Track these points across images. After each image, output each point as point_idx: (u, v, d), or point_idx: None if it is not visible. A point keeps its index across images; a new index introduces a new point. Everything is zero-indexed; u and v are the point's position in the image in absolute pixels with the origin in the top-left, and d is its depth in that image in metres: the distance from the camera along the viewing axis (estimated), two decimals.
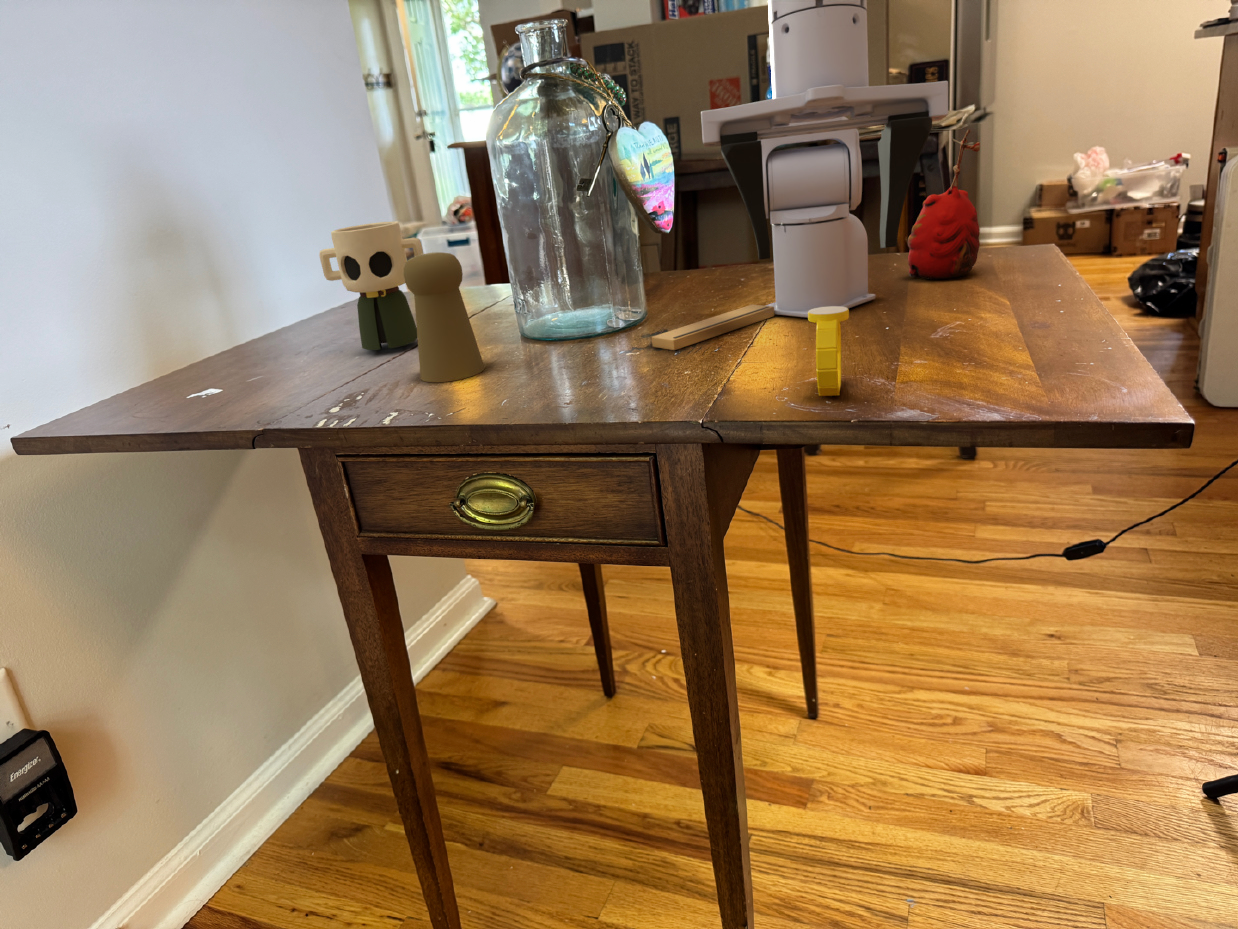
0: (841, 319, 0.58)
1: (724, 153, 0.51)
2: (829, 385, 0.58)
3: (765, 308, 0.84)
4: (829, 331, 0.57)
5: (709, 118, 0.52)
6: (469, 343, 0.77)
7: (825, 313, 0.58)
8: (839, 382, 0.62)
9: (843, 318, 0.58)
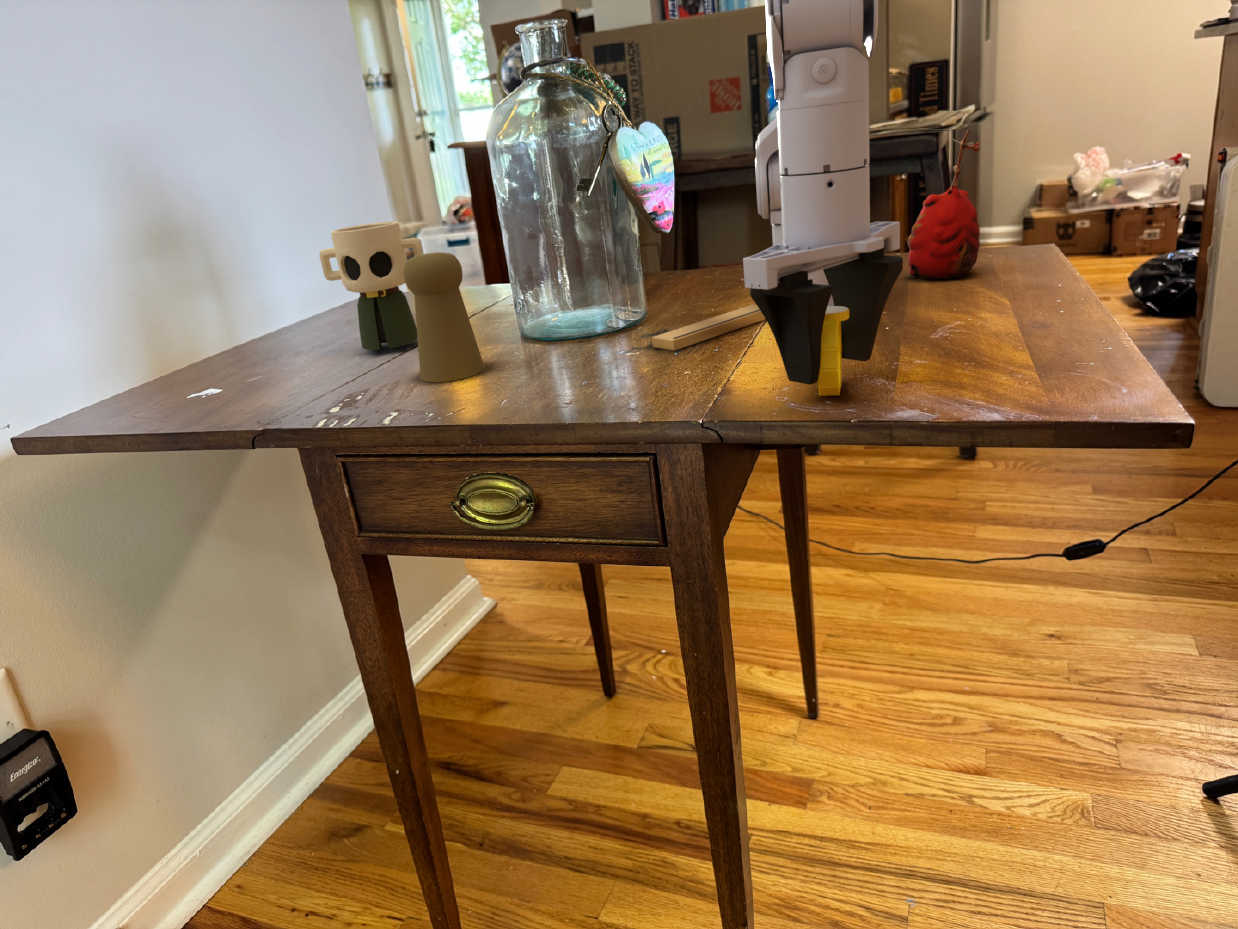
0: (841, 319, 0.58)
1: (807, 298, 0.53)
2: (830, 385, 0.58)
3: None
4: (829, 331, 0.57)
5: (772, 265, 0.53)
6: (469, 343, 0.77)
7: (825, 313, 0.58)
8: (839, 382, 0.62)
9: (843, 318, 0.58)
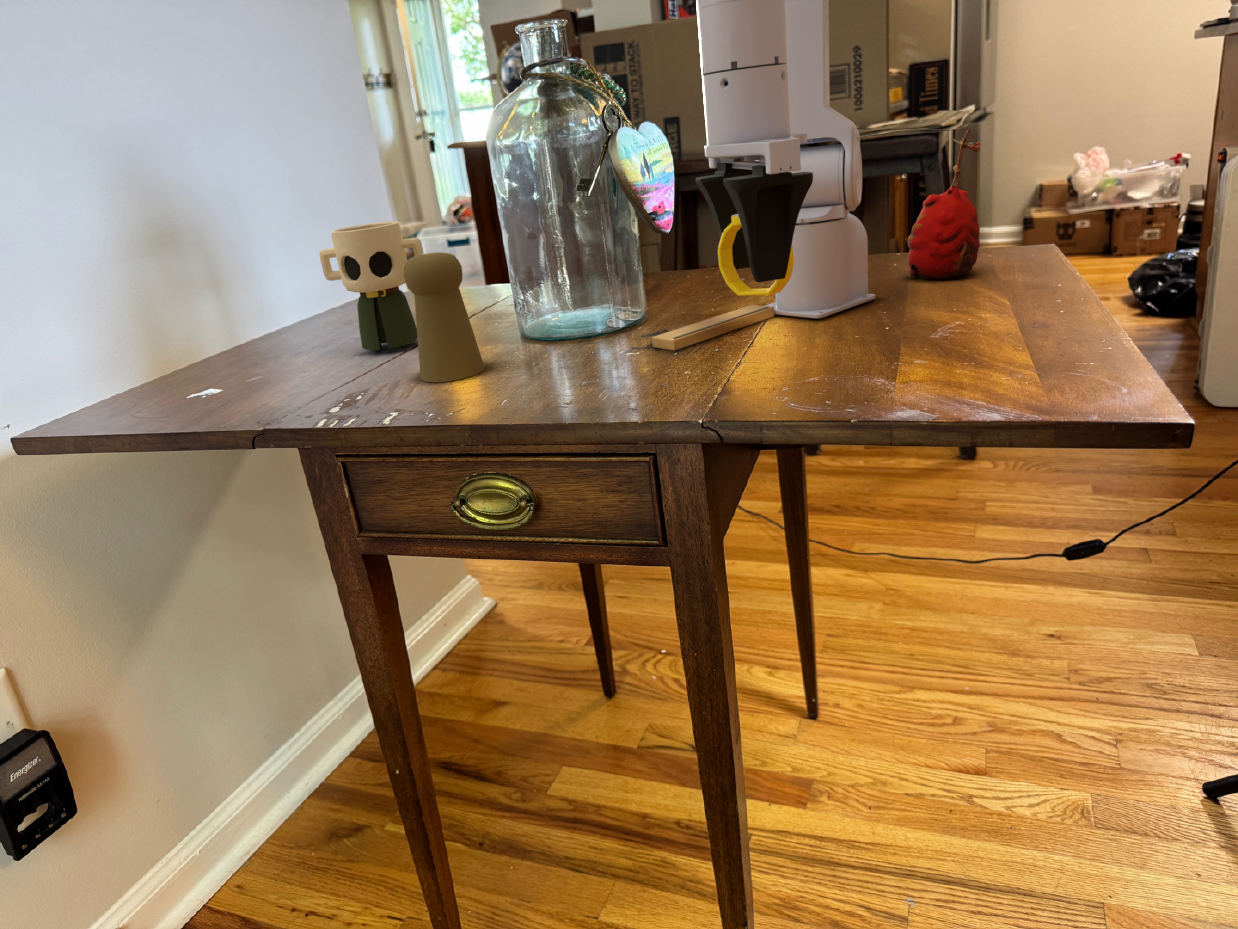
0: None
1: (810, 180, 0.55)
2: (786, 279, 0.60)
3: (765, 308, 0.84)
4: None
5: None
6: (469, 343, 0.77)
7: None
8: None
9: None
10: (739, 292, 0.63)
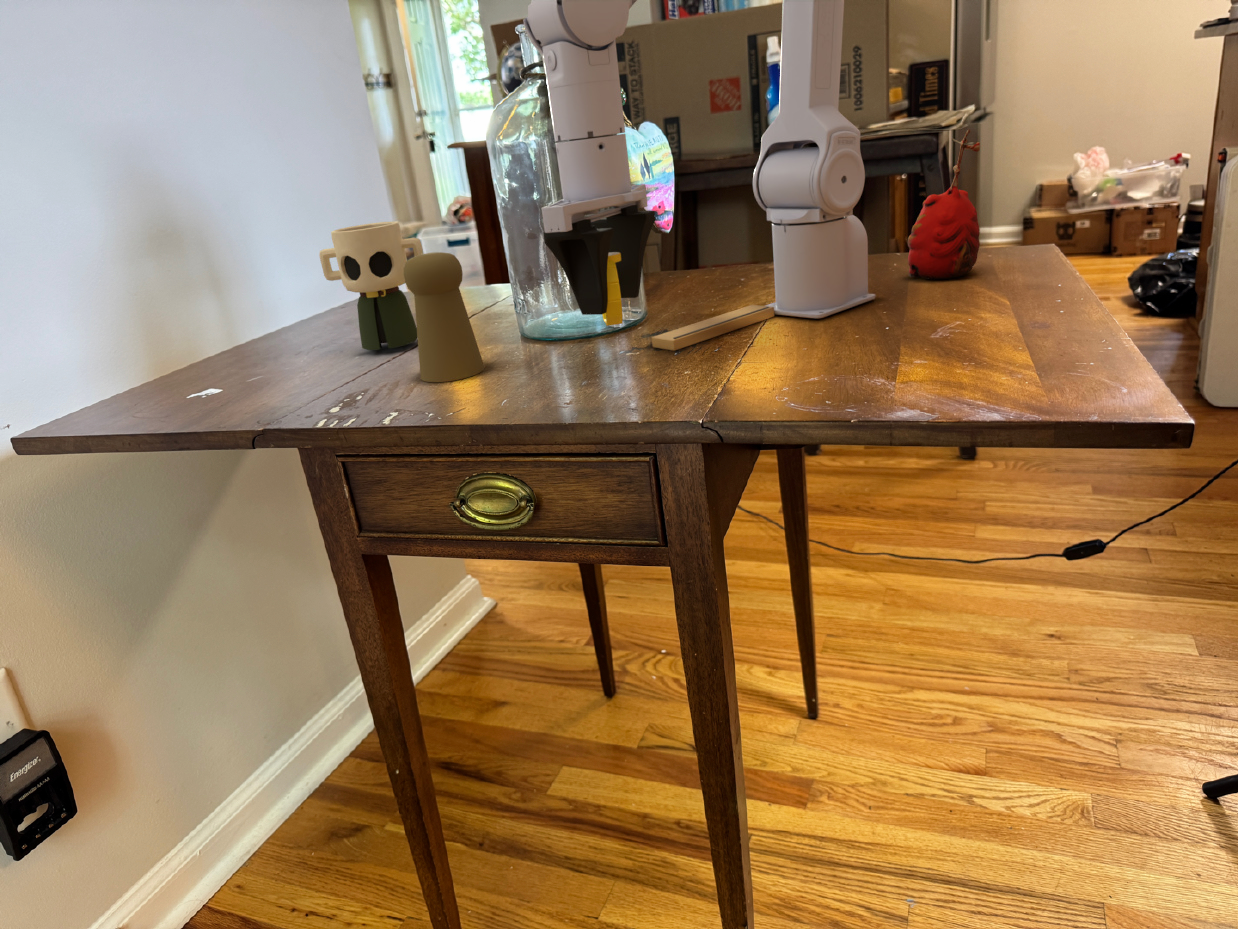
0: (617, 260, 0.71)
1: (597, 238, 0.66)
2: (616, 314, 0.71)
3: (765, 308, 0.84)
4: (610, 269, 0.70)
5: (567, 211, 0.64)
6: (469, 343, 0.77)
7: None
8: None
9: (618, 259, 0.71)
10: (603, 318, 0.75)
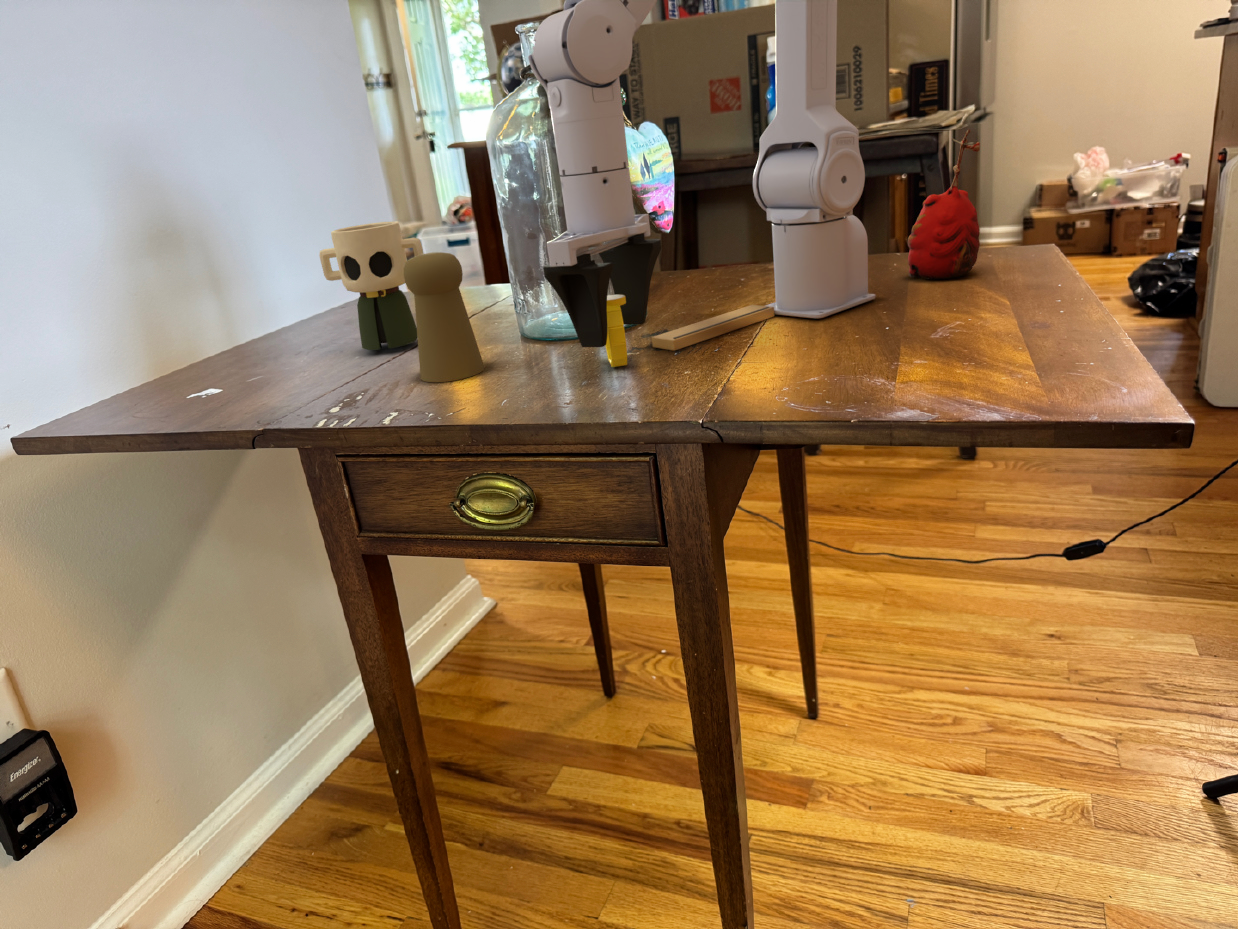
0: (622, 303, 0.72)
1: (597, 273, 0.66)
2: (620, 356, 0.72)
3: (765, 308, 0.84)
4: (615, 313, 0.71)
5: (572, 246, 0.65)
6: (469, 343, 0.77)
7: (609, 299, 0.72)
8: None
9: (623, 302, 0.73)
10: (608, 358, 0.76)
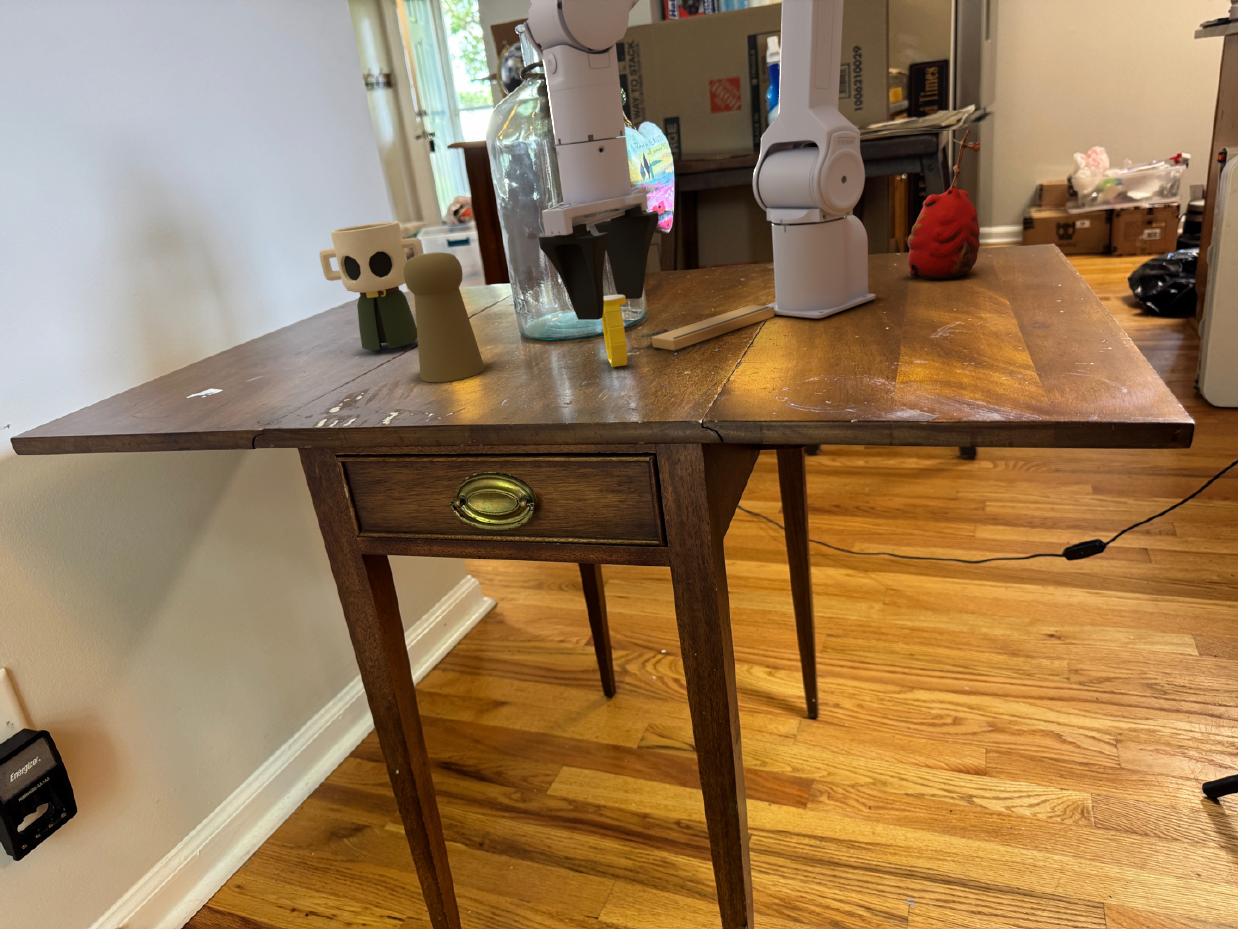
0: (622, 303, 0.72)
1: (593, 242, 0.65)
2: (620, 356, 0.72)
3: (765, 308, 0.84)
4: (615, 313, 0.71)
5: (568, 214, 0.64)
6: (469, 343, 0.77)
7: (609, 299, 0.72)
8: None
9: (623, 302, 0.73)
10: (608, 358, 0.76)
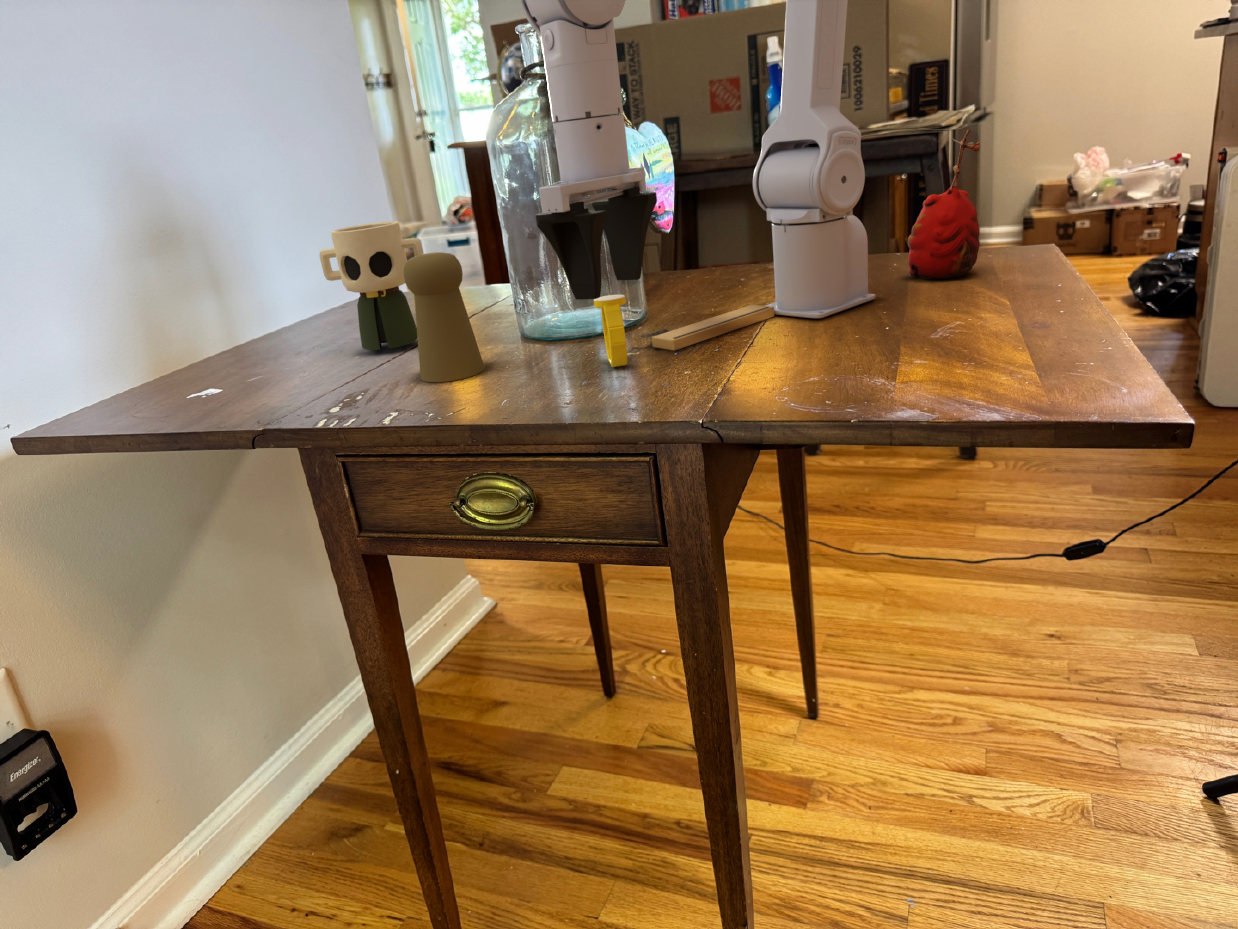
0: (622, 303, 0.72)
1: (590, 220, 0.64)
2: (620, 356, 0.72)
3: (765, 308, 0.84)
4: (615, 313, 0.71)
5: (565, 191, 0.64)
6: (469, 343, 0.77)
7: (609, 299, 0.72)
8: None
9: (623, 302, 0.73)
10: (608, 358, 0.76)
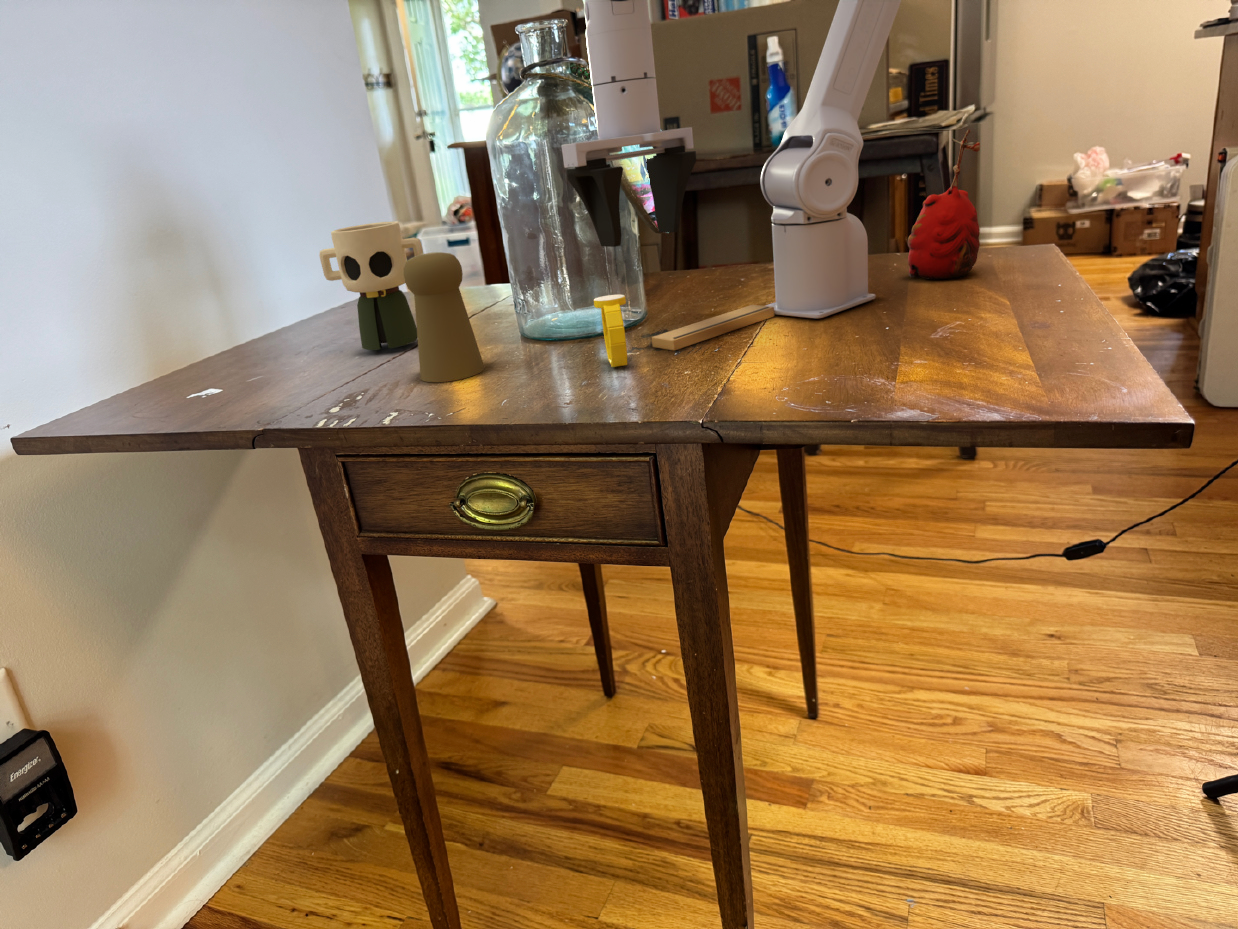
0: (622, 303, 0.72)
1: (601, 174, 0.73)
2: (620, 356, 0.72)
3: (765, 308, 0.84)
4: (615, 313, 0.71)
5: (580, 148, 0.72)
6: (469, 343, 0.77)
7: (609, 299, 0.72)
8: None
9: (623, 302, 0.73)
10: (608, 358, 0.76)
